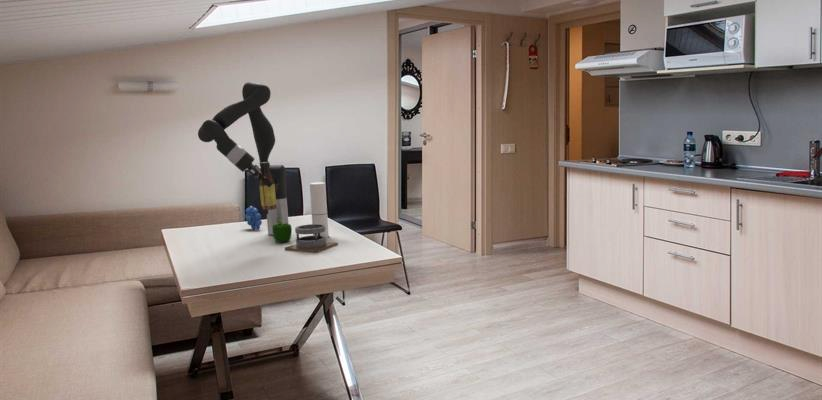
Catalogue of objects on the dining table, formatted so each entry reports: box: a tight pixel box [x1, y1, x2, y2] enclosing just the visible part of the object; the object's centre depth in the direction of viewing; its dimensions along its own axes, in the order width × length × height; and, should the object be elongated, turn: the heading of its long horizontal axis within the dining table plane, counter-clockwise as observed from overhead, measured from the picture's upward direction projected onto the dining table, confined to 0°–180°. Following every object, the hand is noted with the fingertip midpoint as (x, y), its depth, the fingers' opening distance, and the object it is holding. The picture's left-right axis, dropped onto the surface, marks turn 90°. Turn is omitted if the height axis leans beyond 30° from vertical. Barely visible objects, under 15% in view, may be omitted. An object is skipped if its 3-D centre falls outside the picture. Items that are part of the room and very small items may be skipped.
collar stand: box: [284, 223, 339, 254], centre depth 271 cm, size 16×16×9 cm
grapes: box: [244, 205, 262, 230], centre depth 320 cm, size 12×7×12 cm, turn 51°
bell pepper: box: [272, 220, 293, 243], centre depth 287 cm, size 8×8×10 cm
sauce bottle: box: [258, 161, 276, 211], centre depth 266 cm, size 6×6×20 cm
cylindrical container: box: [309, 181, 330, 238], centre depth 294 cm, size 7×7×25 cm
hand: (271, 184), depth 266 cm, fingers closed on sauce bottle, 6 cm apart
